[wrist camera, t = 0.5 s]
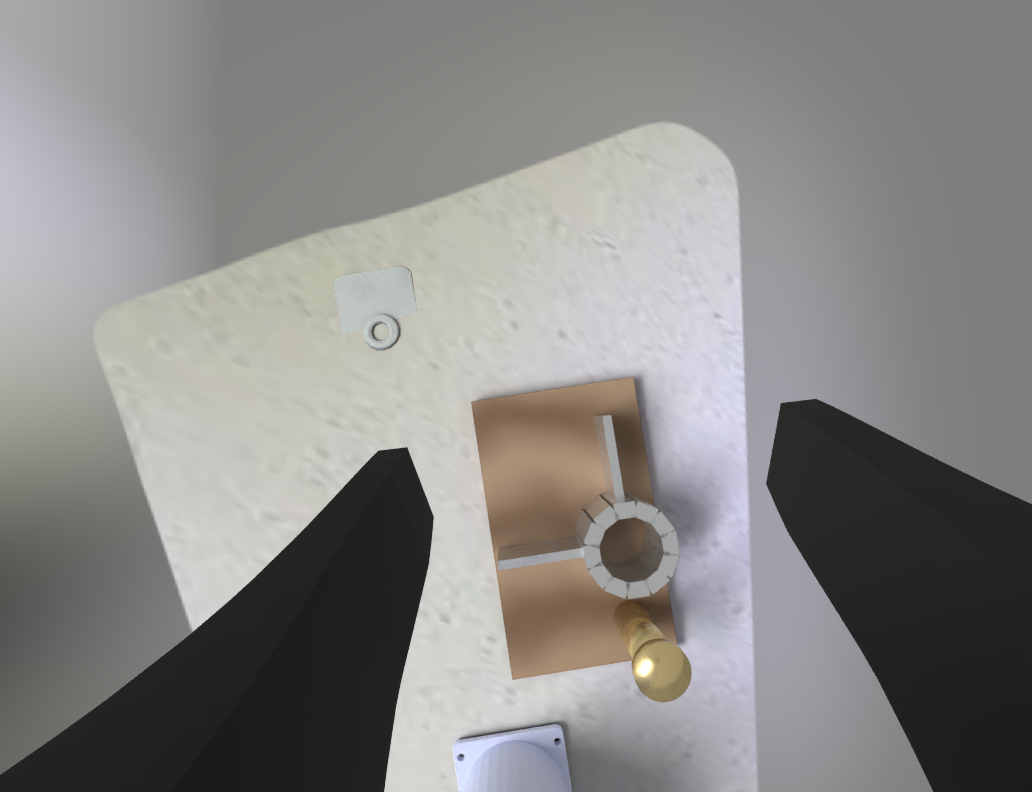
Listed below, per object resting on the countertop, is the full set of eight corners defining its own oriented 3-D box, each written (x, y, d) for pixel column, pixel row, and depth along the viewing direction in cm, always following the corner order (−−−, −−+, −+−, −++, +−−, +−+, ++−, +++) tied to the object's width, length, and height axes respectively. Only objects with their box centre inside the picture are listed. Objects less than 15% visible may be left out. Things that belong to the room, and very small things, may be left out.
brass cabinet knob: (655, 636, 32) (695, 697, 25) (611, 643, 32) (639, 706, 25) (648, 591, 32) (686, 639, 26) (604, 598, 32) (630, 648, 25)
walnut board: (673, 645, 33) (678, 652, 32) (512, 671, 33) (512, 679, 32) (629, 378, 34) (633, 377, 33) (472, 402, 34) (471, 401, 33)
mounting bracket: (372, 540, 34) (331, 276, 34) (376, 537, 34) (335, 279, 35) (450, 528, 33) (407, 262, 34) (452, 525, 34) (410, 265, 35)
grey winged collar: (664, 568, 33) (686, 590, 29) (505, 594, 32) (504, 619, 28) (638, 409, 33) (655, 408, 29) (481, 433, 33) (477, 436, 29)
